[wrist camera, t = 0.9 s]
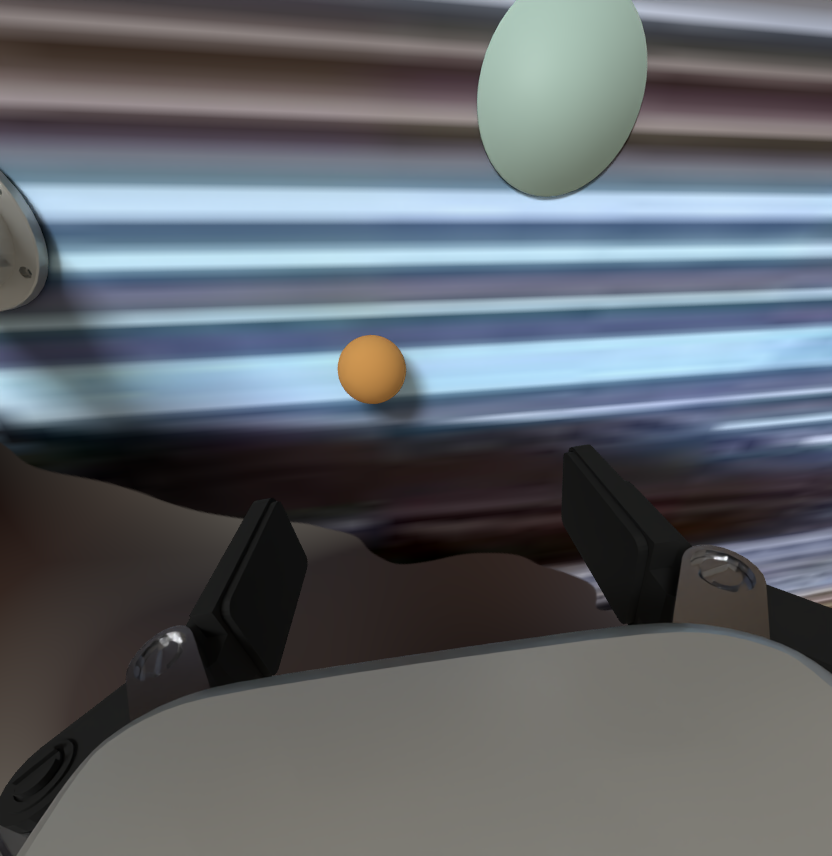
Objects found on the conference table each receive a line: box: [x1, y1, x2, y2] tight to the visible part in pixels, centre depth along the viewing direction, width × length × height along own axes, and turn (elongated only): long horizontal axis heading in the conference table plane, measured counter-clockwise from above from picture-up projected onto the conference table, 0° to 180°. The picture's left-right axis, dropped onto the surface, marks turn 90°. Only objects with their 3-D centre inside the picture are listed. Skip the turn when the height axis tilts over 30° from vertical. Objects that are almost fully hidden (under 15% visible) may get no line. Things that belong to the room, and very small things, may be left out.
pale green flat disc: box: [477, 0, 647, 197], centre depth 25 cm, size 12×12×1 cm
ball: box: [338, 335, 406, 404], centre depth 31 cm, size 6×6×6 cm
